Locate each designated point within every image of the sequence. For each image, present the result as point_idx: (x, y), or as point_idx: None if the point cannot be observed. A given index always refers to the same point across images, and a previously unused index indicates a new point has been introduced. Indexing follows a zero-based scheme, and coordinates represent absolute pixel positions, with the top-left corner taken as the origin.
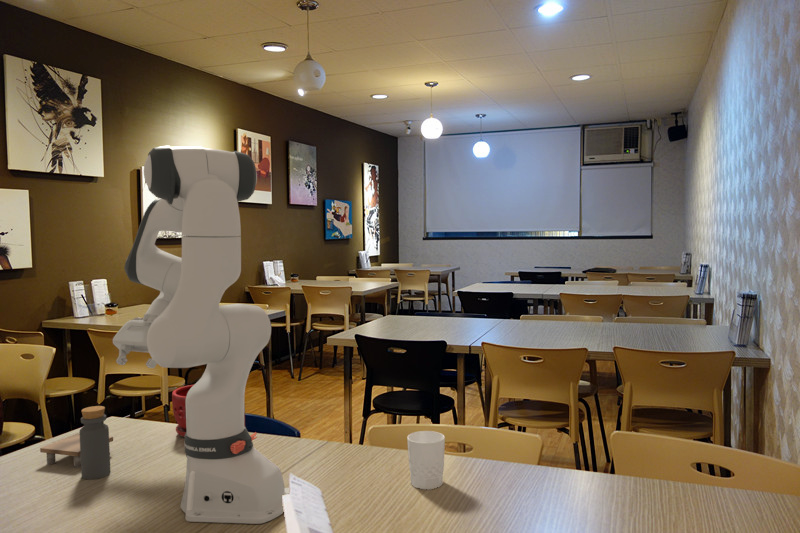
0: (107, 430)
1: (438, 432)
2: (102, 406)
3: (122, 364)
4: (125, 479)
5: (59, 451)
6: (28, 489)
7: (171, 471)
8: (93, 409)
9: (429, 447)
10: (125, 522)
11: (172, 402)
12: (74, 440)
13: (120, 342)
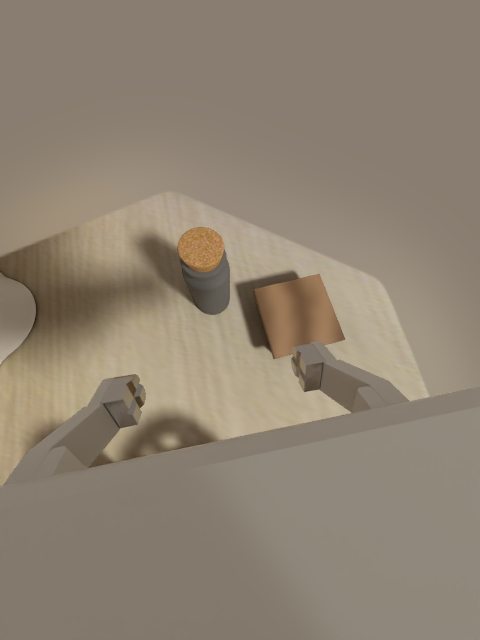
0: (186, 282)
1: None
2: (197, 264)
3: (292, 359)
4: (162, 307)
5: (285, 282)
6: (241, 239)
7: (124, 355)
8: (194, 243)
9: None
10: (62, 239)
11: None
12: (311, 316)
13: (435, 400)
